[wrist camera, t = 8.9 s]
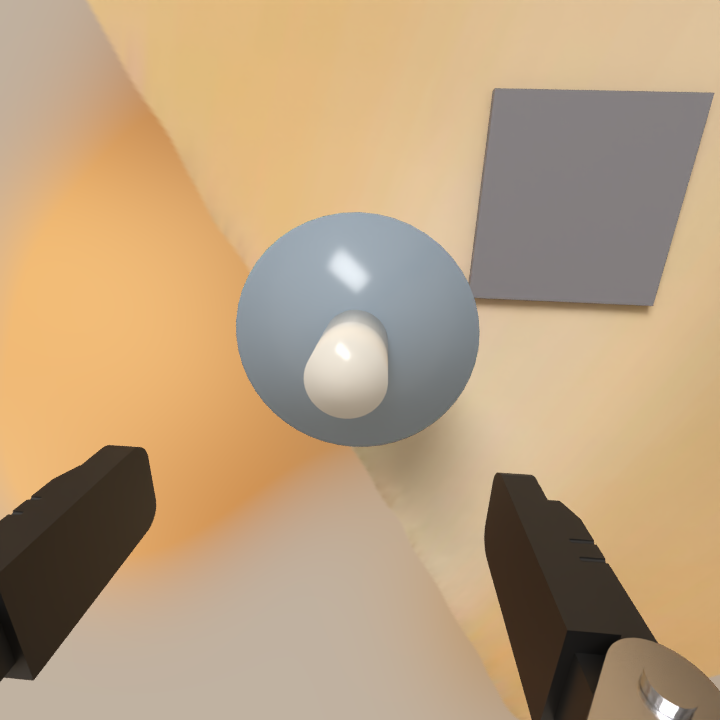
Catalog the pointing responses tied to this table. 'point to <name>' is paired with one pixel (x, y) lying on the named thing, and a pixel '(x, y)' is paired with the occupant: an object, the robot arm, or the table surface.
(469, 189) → the table surface
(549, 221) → the mat
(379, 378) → the lid
